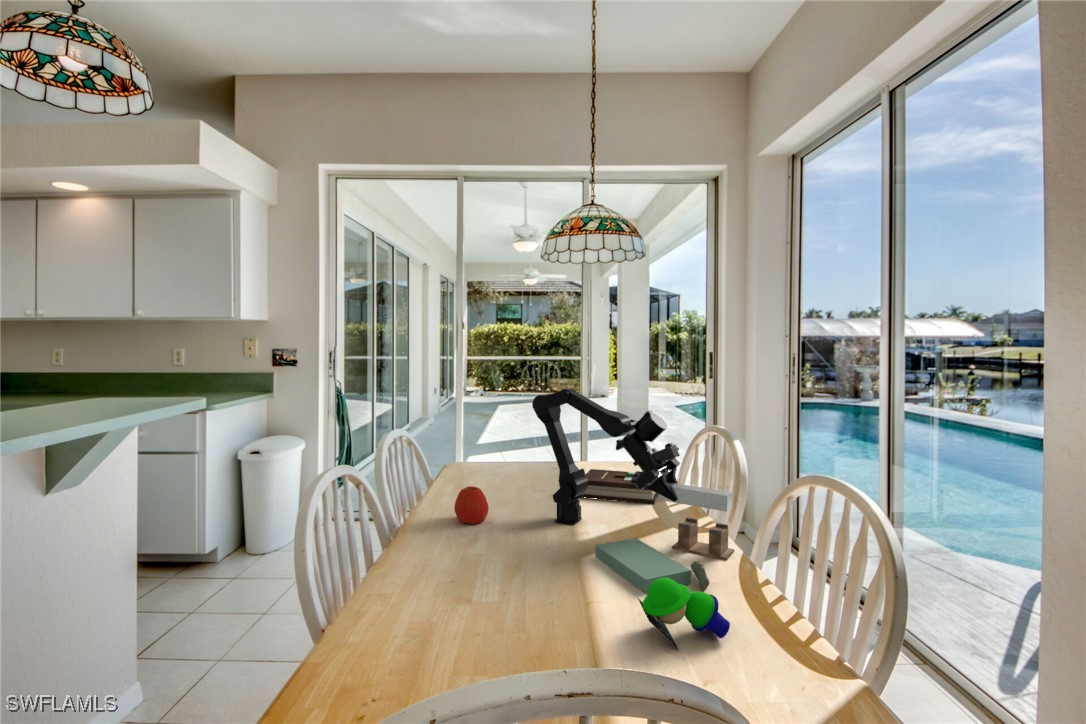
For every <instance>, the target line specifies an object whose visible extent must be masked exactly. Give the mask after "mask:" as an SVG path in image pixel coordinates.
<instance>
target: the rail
mask: <svg viewBox="0 0 1086 724" xmlns="http://www.w3.org/2000/svg"><path fill="white" fill-rule="evenodd" d="M667 483H668V485H669V486H670V488H671V489H672V491H673V492H674V494H675V496H676V497H677V501H675V502H674V501H672V500H670V499H668V498H666V497H664V496H662V495H660V494H658V500H659V501H662V502H663V501H664V502H670V503H675V504H682V505H687V506H691V507H697V508H705V509H709V510H715V511H721V512H729V510H731V509H732V506H733V505H732V502H733V501H732V495H733V492H732V491H727V490H720V489H716V488H715V489H713V488H707V487H701V486H695V485H689V484H682V483H681V484H680V483H678V484H676V483H669V482H667Z"/></svg>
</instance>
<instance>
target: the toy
mask: <svg viewBox="0 0 1086 724" xmlns="http://www.w3.org/2000/svg"><path fill="white" fill-rule="evenodd" d="M646 594H647V595H646V596H645V597H644V598H643V601H642V600H641V599H640V598H639V597H637V596H636V598H637V600H638V602H639V604H640V606H641V608H642V610H643V612H644V614H645V616H646V618H647V619H648V622H649V623H650V624H651V625H652V626H654V628H656V630H658V631H659V633H661V634H662V636H663V637H664V638H665V639H667V640H668V641H669V643H671V644H672V645H673V646H674V647H675V648H676V649H677V650H679V651H680V649H679V647H678V646H677V644H676V642H675V639H674V638H673V636H672V634H671V632H670V631H669V629H668V627H667V626H666V625H674V624H675V625H676V624H677V623H678V622H681V620H683V618H684V617H685V619H686V620H687V621H688V623H690V624H691V627H692V628H693V630H695V631H696V632H700V633H702V632H704V631H707V630H708V631H709V632H711V633H712V634H713V635H715V636H716V637H717V638H719V639H723V638H725V636H727V634H728V633H729V630H730V627H731V623H730V621H729V620H728V619H726V618H725V617H724V616H723V615H722V614H721V613H720V612H719V600H718V598H717V597H716V596H715V595H713V594H710V593H707V592H705V591H704V592H703V591H691V590H690V588H689V587H688V586H686V585H682V584H677V583H676V582H675V581H674V580H672V579H670V578H659V579H657V580H655V581H653V582H652V583H651V585H650V586H649V588H648V592H647V593H646Z"/></svg>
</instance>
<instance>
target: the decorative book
mask: <svg viewBox="0 0 1086 724" xmlns="http://www.w3.org/2000/svg"><path fill="white" fill-rule="evenodd" d="M642 473H643V471H642V470H641V471H638V470H637V471H621V470H610V469H609V470H608V469H598V468H597V469H595V468H590V469H589V470H588V472H585V475H586V478H587V479H588V482H587V484H588V488H587V490H586V492H585V493H583V496H582V497H586V498H597V499H606V500H605V501H608V500H617V501H616V502H619V501H626V502H625V503H631V502H633V503H634V504H643V505H645V504H646V505H653V506H654V505H656V504H655V503H656V502H657V498H658V497H659V494H658V493H656V492H654V491H652V490H648V489H647V487H649V486H650V485H649V483H648V484H647V485H645V488H643V489H642V490H639V489H638V488H637V487H636V485H635V480H636V479H637V478H638V477H639V476H640V475H641V474H642ZM586 498H585V499H586ZM597 499H596V500H597Z"/></svg>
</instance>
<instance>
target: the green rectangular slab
mask: <svg viewBox="0 0 1086 724" xmlns="http://www.w3.org/2000/svg"><path fill="white" fill-rule="evenodd" d="M595 558H597V559H598V560H599V561H601V562H603V564H605V565H607V566H608V567H609V568H610V569H612V570H613V571H614V572H616V573H618V574H619V575H620V576H621V577H623V578H624V579H625V580H626V581H627V582H630V583H631V584H632V585H634V586H635V587H636V588H638V589H639V590H640V591H641V592H643V593H645V594H647V592H648V588H649V586H650V585H651V583H652V582H653V581H655V580H657V579H659V578H670V579H672V580H674V581H675V582H676V583H677V584H682V585H685V586H686V585H690V584H691V583H692V569H691V568H690V569H689V568H688V567H686V566H684V565H683V564H681V563H680V562H677V561H676V560H675V559H672V558H671V557H669V556H668V555H665V554H664V553H662V552H661V551H659V550H657V549H655V548H654V547H652V546H650V545H648V544H647V543H645V542H644V541H642V540H640V539H638V538H637V537H634V538H629V539H628V538H627V539H623V540H617V541H611V542H609V541H608V542H605V543H599V544H595Z"/></svg>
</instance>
